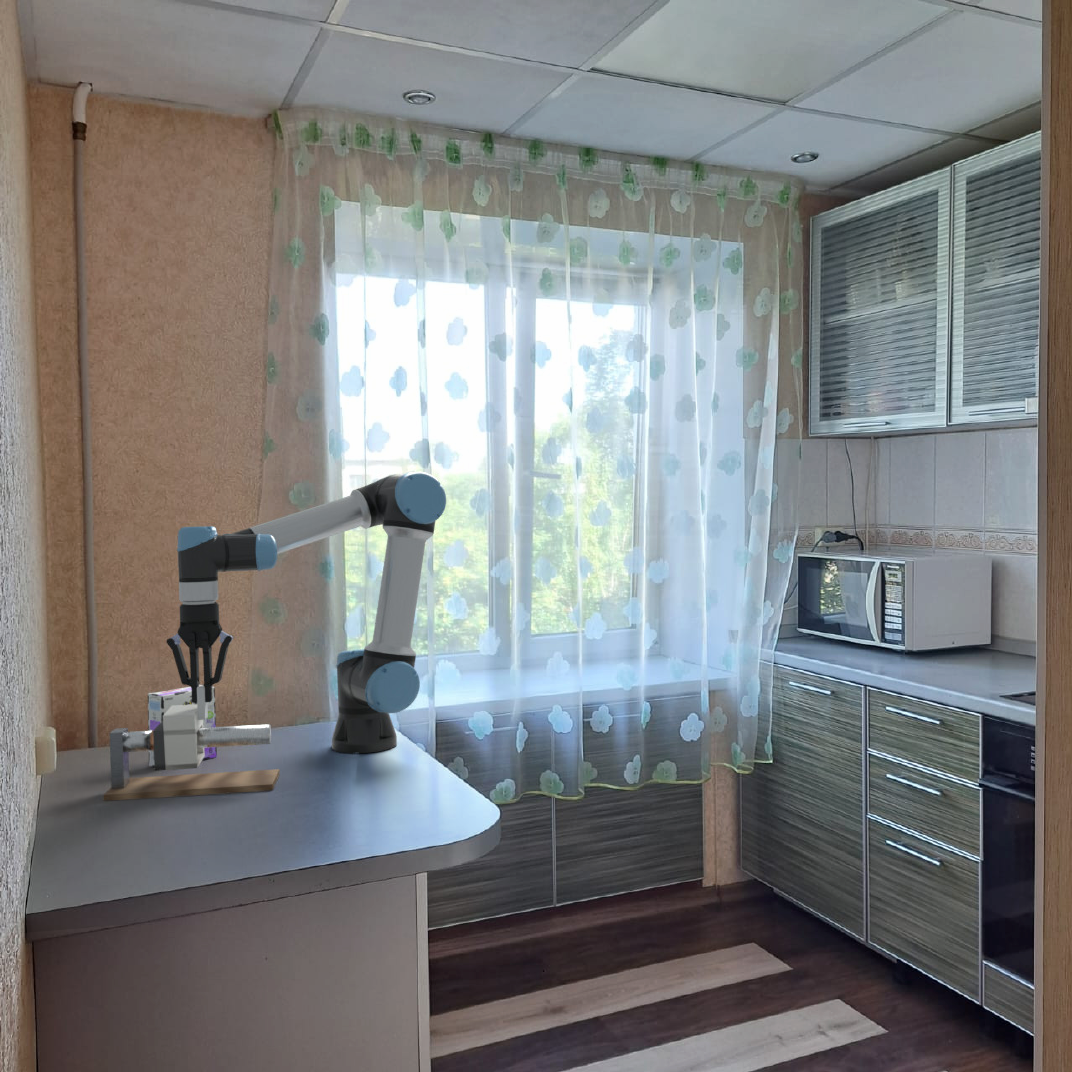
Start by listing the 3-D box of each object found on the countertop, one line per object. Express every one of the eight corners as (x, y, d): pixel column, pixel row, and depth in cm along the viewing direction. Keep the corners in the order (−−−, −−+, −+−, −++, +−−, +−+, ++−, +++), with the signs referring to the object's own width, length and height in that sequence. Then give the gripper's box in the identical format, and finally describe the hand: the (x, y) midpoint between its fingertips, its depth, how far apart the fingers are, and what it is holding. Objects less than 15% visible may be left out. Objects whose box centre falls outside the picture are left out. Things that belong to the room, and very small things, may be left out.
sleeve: (204, 756, 202) (202, 704, 201) (197, 768, 194) (194, 714, 193) (174, 757, 201) (171, 705, 200) (165, 770, 193) (162, 715, 192)
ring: (174, 758, 201) (172, 720, 200) (165, 770, 193) (163, 730, 193) (164, 759, 201) (162, 720, 200) (154, 770, 193) (153, 730, 192)
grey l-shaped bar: (272, 774, 202) (270, 720, 202) (269, 779, 198) (268, 724, 198) (117, 783, 197) (115, 728, 197) (111, 789, 193) (109, 732, 193)
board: (279, 774, 206) (279, 769, 206) (272, 790, 194) (272, 784, 194) (120, 784, 201) (120, 778, 201) (103, 800, 189) (103, 794, 189)
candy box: (163, 770, 212) (160, 695, 212) (148, 766, 216) (145, 692, 215) (218, 757, 223) (215, 685, 223) (202, 753, 227) (200, 683, 226)
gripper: (235, 599, 202) (238, 713, 202) (169, 602, 200) (173, 716, 200) (229, 602, 194) (232, 720, 195) (161, 605, 193) (165, 724, 193)
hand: (202, 718), depth 198 cm, fingers closed
